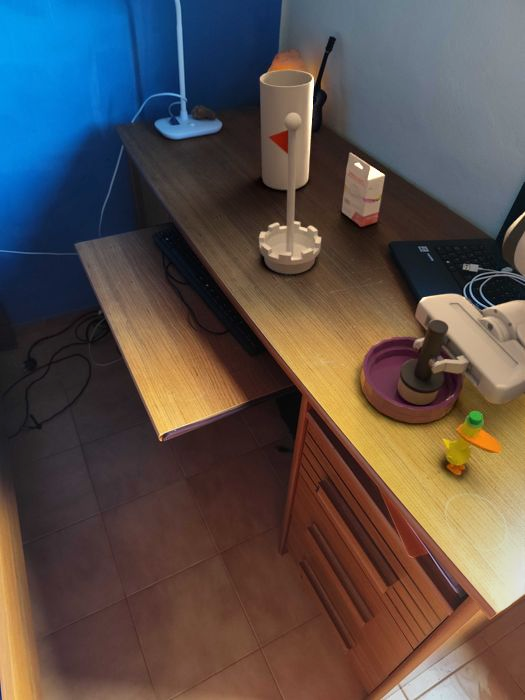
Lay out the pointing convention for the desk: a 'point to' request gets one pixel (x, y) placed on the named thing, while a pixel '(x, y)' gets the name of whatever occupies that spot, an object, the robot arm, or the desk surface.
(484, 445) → the toy figure
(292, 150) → the flag stand
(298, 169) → the cylinder vase
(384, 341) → the plum bowl
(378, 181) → the ink cartridge box
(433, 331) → the dish brush
